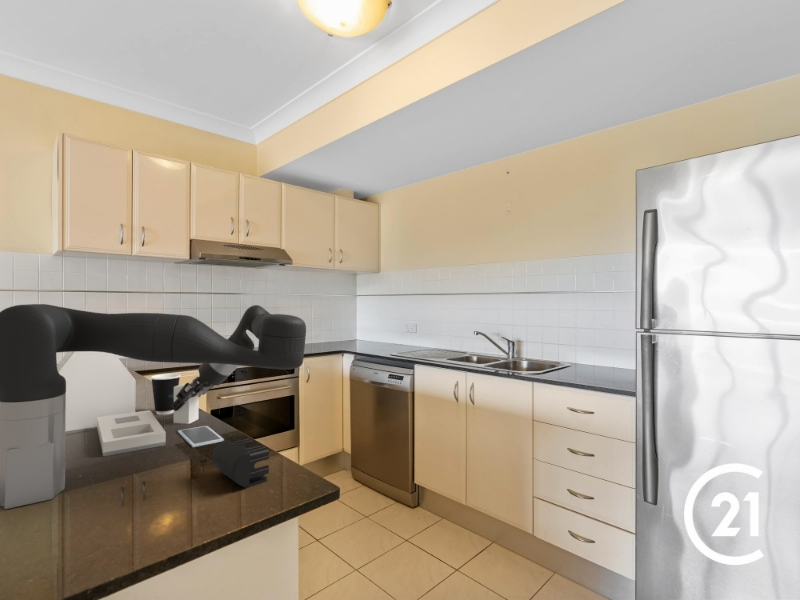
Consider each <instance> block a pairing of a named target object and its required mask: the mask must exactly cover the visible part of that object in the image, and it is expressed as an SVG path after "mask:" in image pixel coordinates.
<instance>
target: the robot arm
mask: <svg viewBox="0 0 800 600" xmlns="http://www.w3.org/2000/svg"><path fill="white" fill-rule="evenodd" d="M247 331H249V333H251V334H253V336H254V337H255V338H256V339H257V340H258V346H257V347H258V349H257V350H255V343H254V341H253V340H252V338H250V335H249V334H248V333H247ZM306 336H307V325H306V322H305V321H304V320H303V319H302V318H301V317H299V316H294V315H291V314H284V313H283V314H282V313H281V314H280V313H273V314H272V313H270V312H268V311H267V310H266V309H265V308H264V307H262V305H261V306H260V305H259V304H254V305H251V306H250V307H247V308H246V310H245V311H244V313H243V314H242V316H241V319H240V321H239V322H238V325H237V326H236V328H235V330H234V331H233V332H232V333H231V335H230V336H229V337H228V338H226V337H224V336H222V335H221V334H219V333H218V332H217V331H216V330H214V329H213V328H211V327H210V326H209V325H207V324H206V323H204V322H203V321H201V320H199V319H198V318H196V317H193V316H191V315H185V314H174V313H173V314H172V313H162V312H161V313H159V312H128V313H127V312H123V313H104V312H103V313H101V312H93V311H86V310H80V309H74V308H69V307H68V308H67V307H63V306H57V305H53V304H46V303H34V304H33V303H32V304H29V303H28V304H27V303H26V304H17V305H12V306H9V307H6V308H4V309H3V310H1V311H0V507H3V509H4V510H8V509H13V508H17V507H21V506H26V505H31V504H35V503H40V502H43V501H49V500H53V499H54V498H55V496H57V495H58V494H60V493H61V492H63V491H64V490H65V488H66V432H67V431H66V380H65V378H64V377H63V376H61V375H60V374H59V372H58V370H57V365H58V363H57V362H58V361H57V353H67V352H78V351H94V352H106V353H111V354H115V355H116V356H120V357H124V358H129V359H133V360H137V361H144V362H145V361H146V362H150V363H151V362H156V363H172V364H173V363H175V364H178V363H179V364H180V363H181V364H201V365H199V367H198V374H199V376H196V377H195V378H193V379H192V381H191V382H190V383H189V382H187V383H184V384H185V385H184V386H183V388H182V389H181V390H180V392H179V393H178V394H177V395H176V397H177V398H178V399H177V400H176V401H175V402H174V403H173V404H172V405H171V407H172V408H173V409H174V410H175V411H178V410H179V409H180V408H181V407H182V406H183V405H184V404H185V403H186V402H187V401H188V400H189V399H191V398H192V397H196V396H197V395H198V394H199V398H201V396H202V395H203V396H204V395H206V394H207V392H208V391H210V390H211V389H212V388H213V387H214V386H220V385H222V384H223V382H225V381H226V379H228V377H230V375H232V373H233V372H234V371H236V369H237V368H238V367H239V366H241V367H242V366H243V367H244V366H245V367H251V368H253V367H254V368H263V369H274V370H275V369H276V370H293V369H298V368H300V367H301V366H302V365H303V363H304V356H305V346H306V338H307V337H306ZM193 391H194V392H195V394H194V393H193Z"/></svg>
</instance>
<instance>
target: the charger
mask: <svg viewBox="0 0 800 600" xmlns="http://www.w3.org/2000/svg"><path fill="white" fill-rule="evenodd" d="M185 384H186V383H181V384H179V385H178V386H175V387H174V402H175V401H176V400H177V399H178V398H177V397H176V395H177V394H178V393H179V392H180V390H181V389H182V388H183V386H184V385H185ZM193 393H194V394H195V392H194V391H193ZM199 398H200V397H199V394H198V395H197V396H196V397H192V398H191V399H189V400H188V401H187V402H186V403H185V404H184V405H183V406H182V407H181V408H180V409H179V410H178V411H175V410H174V413H173V422H172V423H173V424H183V425H187V424H188V425H190V424H191V423H193V422H195V421H197V420H199V411H200V410H199V407H200V406H199V403H200V402H199Z"/></svg>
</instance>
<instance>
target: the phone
mask: <svg viewBox="0 0 800 600" xmlns="http://www.w3.org/2000/svg"><path fill="white" fill-rule="evenodd" d="M177 433H178V434H179V435H180V436H181V437H182V438H183V439H184V440H185V441H186V443H188V444H189V445H190V446H191V447H192V448H196V447H201V446H206V445H210V444H216V443H220V442H222V441H224V440H225V439H224V438H223V437H222V436H221V435H220V434H218V433H217V432H215V430H213V429H212V428H210V426H209V425H202V426H198V427H197V426H195V427H189V428H184V429H179V430H177Z"/></svg>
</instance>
